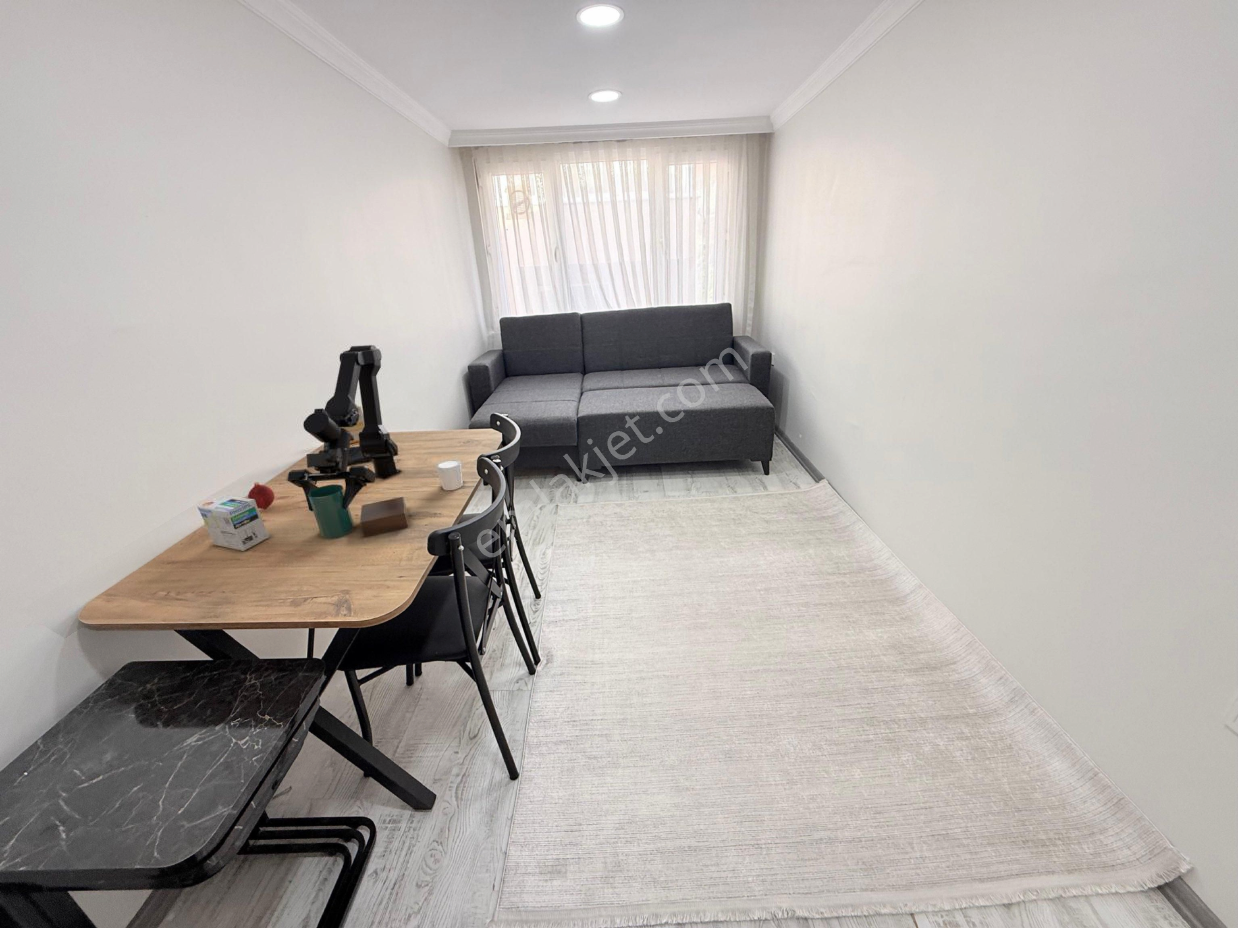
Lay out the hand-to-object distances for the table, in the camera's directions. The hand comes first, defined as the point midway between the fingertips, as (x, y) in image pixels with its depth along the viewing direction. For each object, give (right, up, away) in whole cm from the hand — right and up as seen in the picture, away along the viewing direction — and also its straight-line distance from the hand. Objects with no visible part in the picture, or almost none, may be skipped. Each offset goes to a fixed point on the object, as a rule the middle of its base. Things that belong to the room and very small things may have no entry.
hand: (327, 509), depth 119 cm
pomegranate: (-27, -1, +17) cm, 32 cm away
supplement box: (-27, +20, +65) cm, 73 cm away
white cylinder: (+22, +4, +25) cm, 33 cm away
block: (+11, -4, +6) cm, 13 cm away
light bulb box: (-21, -8, +1) cm, 23 cm away
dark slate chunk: (-19, +13, +49) cm, 54 cm away
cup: (0, -6, +4) cm, 7 cm away
